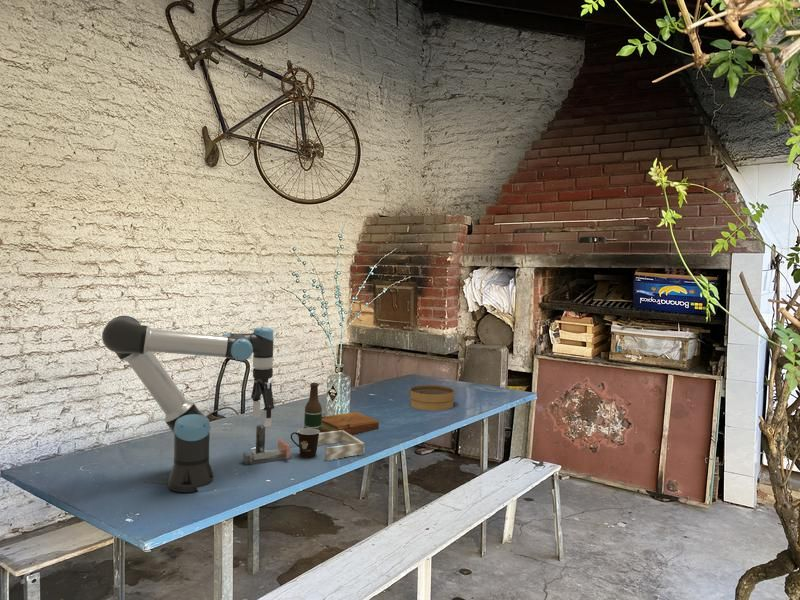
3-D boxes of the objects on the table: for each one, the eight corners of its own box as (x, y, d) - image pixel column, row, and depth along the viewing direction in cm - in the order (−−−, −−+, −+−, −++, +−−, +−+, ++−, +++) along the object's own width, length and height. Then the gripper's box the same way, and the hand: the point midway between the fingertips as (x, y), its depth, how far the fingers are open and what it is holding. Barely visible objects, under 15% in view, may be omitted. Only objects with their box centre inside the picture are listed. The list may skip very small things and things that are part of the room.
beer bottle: (314, 431, 265) (316, 380, 264) (324, 435, 260) (326, 383, 258) (300, 434, 260) (302, 382, 258) (310, 439, 254) (312, 385, 253)
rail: (246, 465, 218) (246, 456, 218) (242, 461, 222) (242, 452, 222) (292, 458, 228) (292, 449, 228) (288, 455, 231) (288, 446, 231)
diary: (338, 439, 256) (338, 427, 256) (315, 429, 271) (316, 417, 270) (378, 432, 271) (378, 420, 271) (355, 422, 286) (355, 411, 285)
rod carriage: (256, 462, 217) (257, 430, 216) (248, 454, 226) (249, 423, 225) (289, 457, 224) (290, 426, 223) (280, 450, 233) (281, 420, 232)
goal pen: (326, 460, 227) (327, 448, 227) (306, 445, 244) (307, 434, 244) (364, 455, 236) (364, 443, 236) (342, 441, 253) (343, 430, 253)
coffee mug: (322, 456, 232) (323, 431, 232) (305, 460, 226) (306, 435, 225) (305, 448, 240) (306, 425, 240) (288, 453, 234) (289, 429, 233)
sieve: (400, 408, 317) (400, 388, 316) (427, 401, 336) (428, 382, 335) (435, 417, 301) (436, 396, 300) (462, 410, 320) (463, 390, 319)
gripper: (283, 372, 212) (282, 428, 214) (262, 361, 234) (261, 412, 235) (263, 374, 208) (262, 431, 210) (243, 362, 230) (243, 414, 231)
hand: (261, 421), depth 222 cm, fingers open, 13 cm apart
